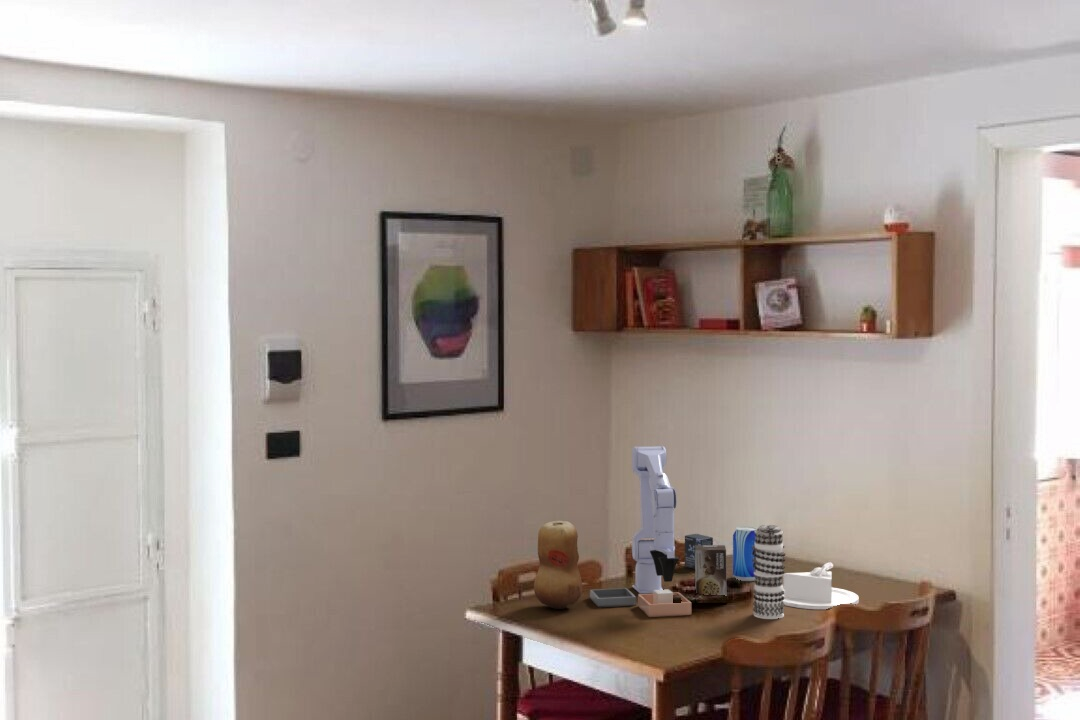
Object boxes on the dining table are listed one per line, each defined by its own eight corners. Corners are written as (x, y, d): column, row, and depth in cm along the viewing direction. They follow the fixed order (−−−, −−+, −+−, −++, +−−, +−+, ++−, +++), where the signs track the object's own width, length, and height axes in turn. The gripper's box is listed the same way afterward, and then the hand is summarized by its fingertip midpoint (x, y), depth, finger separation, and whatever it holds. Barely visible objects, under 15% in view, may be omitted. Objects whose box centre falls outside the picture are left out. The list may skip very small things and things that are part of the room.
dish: (857, 592, 375) (857, 554, 374) (859, 612, 351) (859, 572, 350) (774, 588, 381) (774, 551, 380) (770, 608, 356) (770, 569, 356)
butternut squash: (533, 614, 351) (532, 526, 350) (535, 602, 364) (534, 517, 363) (582, 614, 350) (581, 526, 349) (582, 602, 364) (582, 517, 362)
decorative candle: (749, 611, 352) (749, 523, 351) (782, 611, 352) (782, 523, 351) (754, 619, 343) (754, 529, 342) (788, 619, 343) (788, 529, 341)
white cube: (653, 607, 355) (653, 590, 355) (668, 606, 356) (668, 589, 356) (658, 611, 351) (657, 593, 351) (673, 610, 352) (673, 592, 351)
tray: (589, 598, 369) (589, 589, 369) (626, 596, 371) (626, 587, 371) (598, 607, 358) (598, 598, 358) (636, 605, 360) (636, 596, 360)
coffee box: (725, 599, 366) (725, 544, 365) (727, 604, 360) (727, 549, 359) (694, 598, 367) (694, 544, 366) (695, 604, 361) (695, 548, 360)
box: (684, 567, 410) (684, 535, 409) (697, 564, 413) (697, 533, 412) (700, 571, 403) (700, 539, 403) (713, 569, 407) (713, 536, 406)
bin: (638, 606, 359) (638, 594, 358) (679, 604, 361) (679, 592, 360) (649, 617, 347) (649, 604, 346) (691, 614, 349) (691, 602, 348)
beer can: (740, 574, 398) (740, 524, 397) (764, 577, 393) (764, 527, 392) (728, 579, 391) (728, 529, 390) (752, 582, 386) (752, 531, 386)
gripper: (643, 526, 359) (644, 573, 360) (657, 536, 345) (657, 584, 345) (667, 525, 360) (667, 572, 361) (681, 535, 346) (681, 583, 346)
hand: (664, 578), depth 353 cm, fingers open, 7 cm apart
